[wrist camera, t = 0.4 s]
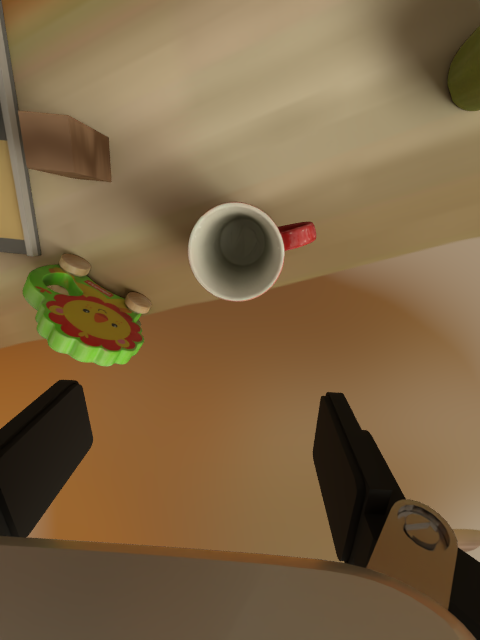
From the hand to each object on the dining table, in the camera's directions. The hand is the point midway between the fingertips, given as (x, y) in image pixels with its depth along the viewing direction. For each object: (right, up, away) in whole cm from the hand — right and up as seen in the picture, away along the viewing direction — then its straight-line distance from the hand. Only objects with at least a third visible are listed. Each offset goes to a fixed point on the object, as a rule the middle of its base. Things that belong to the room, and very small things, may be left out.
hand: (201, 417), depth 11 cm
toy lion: (-17, +8, +31) cm, 36 cm away
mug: (+4, +15, +27) cm, 31 cm away
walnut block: (-18, +25, +25) cm, 39 cm away
